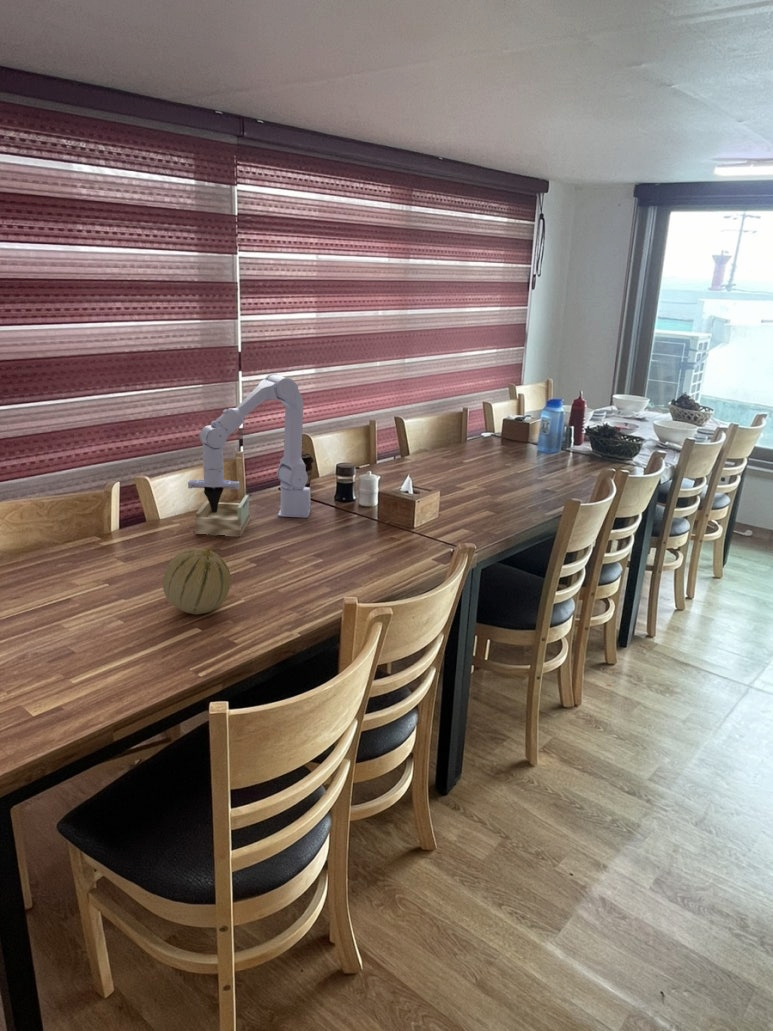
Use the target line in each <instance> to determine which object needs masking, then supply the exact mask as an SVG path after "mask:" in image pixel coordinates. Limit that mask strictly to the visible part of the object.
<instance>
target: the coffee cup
mask: <svg viewBox="0 0 773 1031" xmlns="http://www.w3.org/2000/svg"><path fill="white" fill-rule="evenodd" d="M301 458H302V460H303V462H304V463H305V466H306V473H307V475H308V480H307V483H306V485H305V486H304V487H309V488H310V489H311V482H312V474H313V463H314V461H315V460H314V458H313V457H312V455H311V454H309V453H304V452H301Z"/></svg>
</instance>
